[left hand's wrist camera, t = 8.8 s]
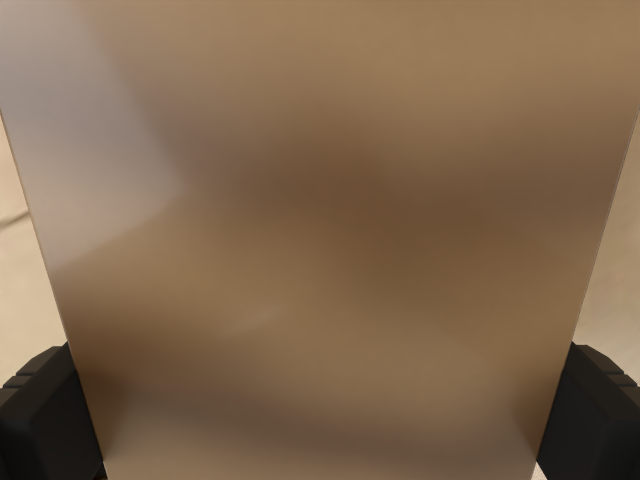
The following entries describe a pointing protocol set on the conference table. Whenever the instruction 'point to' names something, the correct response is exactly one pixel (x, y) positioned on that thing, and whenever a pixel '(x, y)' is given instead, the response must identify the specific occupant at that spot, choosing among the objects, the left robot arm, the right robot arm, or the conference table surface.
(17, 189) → the conference table surface
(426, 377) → the cabinet
